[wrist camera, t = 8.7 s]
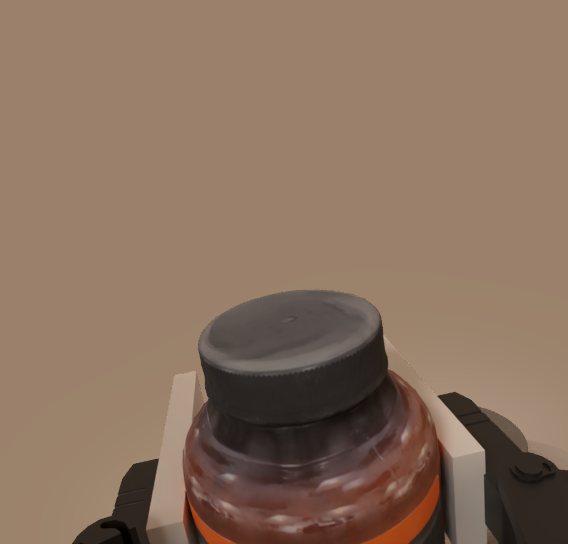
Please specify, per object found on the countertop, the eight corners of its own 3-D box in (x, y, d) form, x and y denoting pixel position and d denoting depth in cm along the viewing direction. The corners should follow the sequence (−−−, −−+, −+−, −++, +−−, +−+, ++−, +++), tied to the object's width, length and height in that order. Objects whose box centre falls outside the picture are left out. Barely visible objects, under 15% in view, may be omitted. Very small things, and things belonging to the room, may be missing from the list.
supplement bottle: (331, 548, 17) (289, 264, 14) (493, 661, 13) (486, 290, 10) (202, 691, 13) (101, 343, 10) (373, 920, 9) (296, 444, 6)
